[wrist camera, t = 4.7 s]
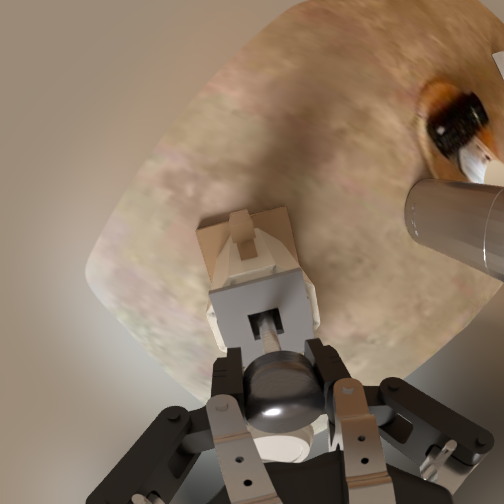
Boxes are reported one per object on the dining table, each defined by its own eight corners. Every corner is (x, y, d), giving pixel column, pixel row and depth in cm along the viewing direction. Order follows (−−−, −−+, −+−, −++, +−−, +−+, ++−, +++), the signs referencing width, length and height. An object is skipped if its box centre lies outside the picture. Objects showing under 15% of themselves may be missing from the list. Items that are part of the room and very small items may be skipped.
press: (282, 195, 29) (325, 210, 15) (302, 287, 32) (345, 359, 18) (193, 218, 29) (159, 253, 15) (221, 308, 32) (215, 392, 18)
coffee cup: (208, 365, 35) (200, 454, 20) (264, 327, 34) (282, 416, 19) (252, 400, 37) (261, 482, 22) (304, 368, 36) (334, 450, 21)
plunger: (280, 254, 22) (337, 353, 9) (291, 305, 23) (342, 424, 10) (222, 269, 22) (211, 385, 9) (238, 319, 23) (245, 448, 10)
